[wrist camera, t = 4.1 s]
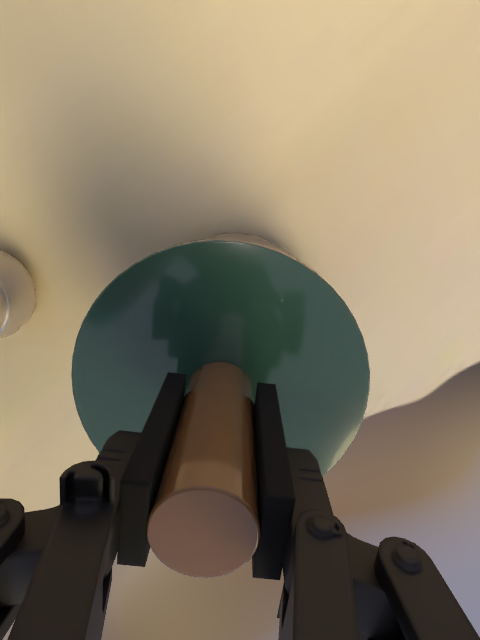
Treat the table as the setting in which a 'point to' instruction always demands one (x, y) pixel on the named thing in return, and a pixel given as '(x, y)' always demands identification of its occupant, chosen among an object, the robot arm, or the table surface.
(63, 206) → the table surface
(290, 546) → the robot arm
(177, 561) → the crock lid
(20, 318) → the silver metal flask
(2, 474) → the table surface
